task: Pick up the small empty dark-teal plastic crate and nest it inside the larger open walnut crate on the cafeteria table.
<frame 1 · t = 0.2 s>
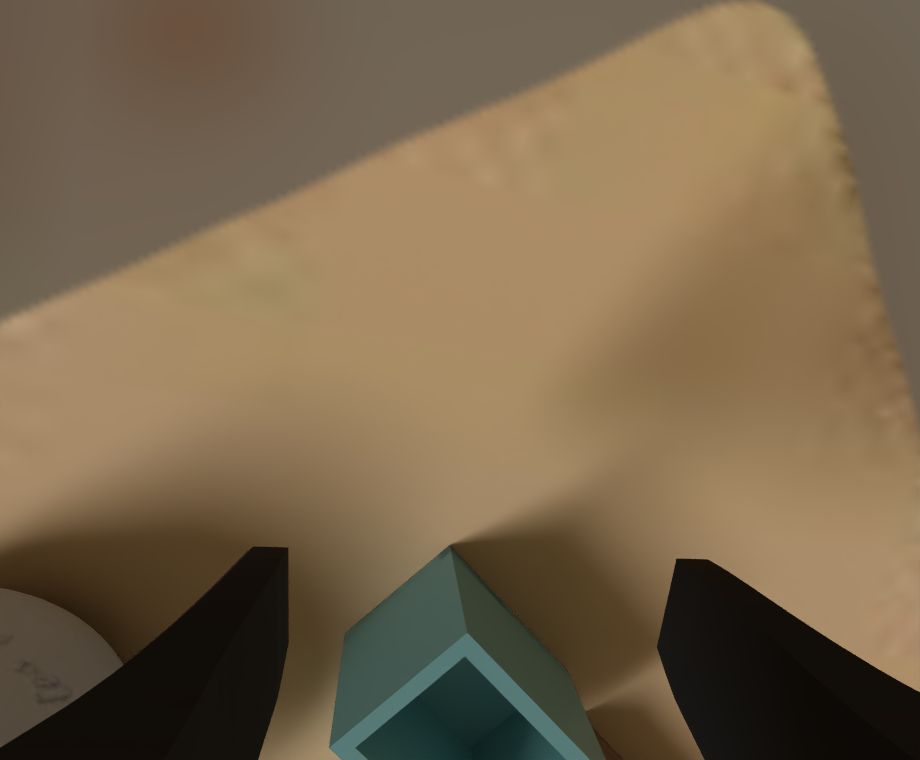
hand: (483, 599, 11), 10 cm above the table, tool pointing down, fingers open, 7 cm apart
teal crate: (459, 653, 23), on the table
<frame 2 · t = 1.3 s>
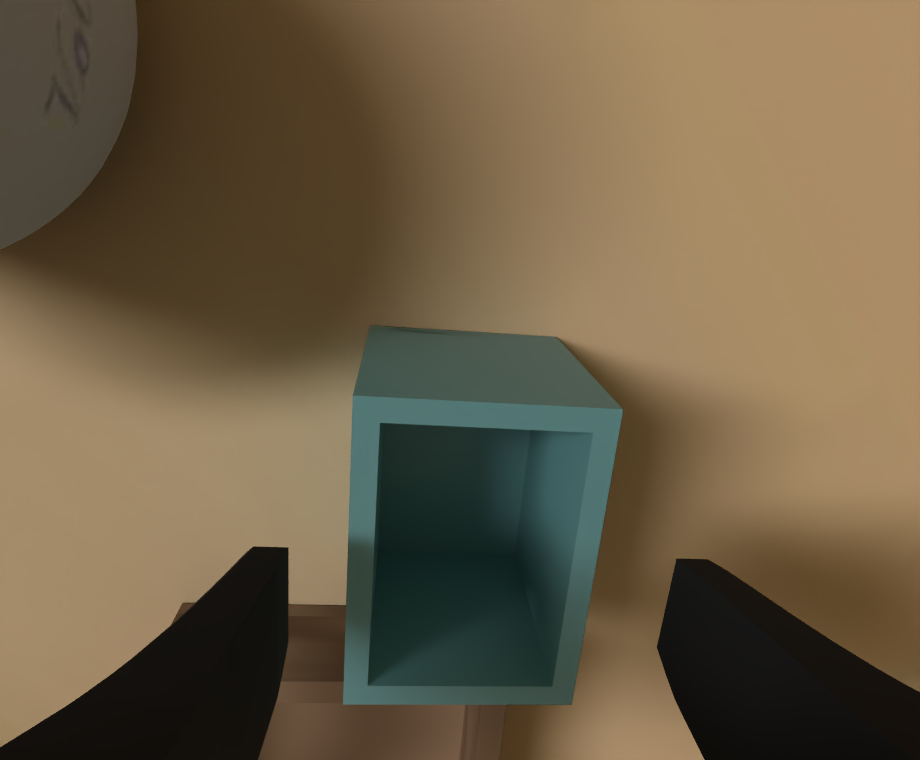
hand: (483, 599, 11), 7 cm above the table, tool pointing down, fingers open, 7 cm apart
walnut crate: (338, 749, 21), on the table
teal crate: (454, 451, 18), on the table
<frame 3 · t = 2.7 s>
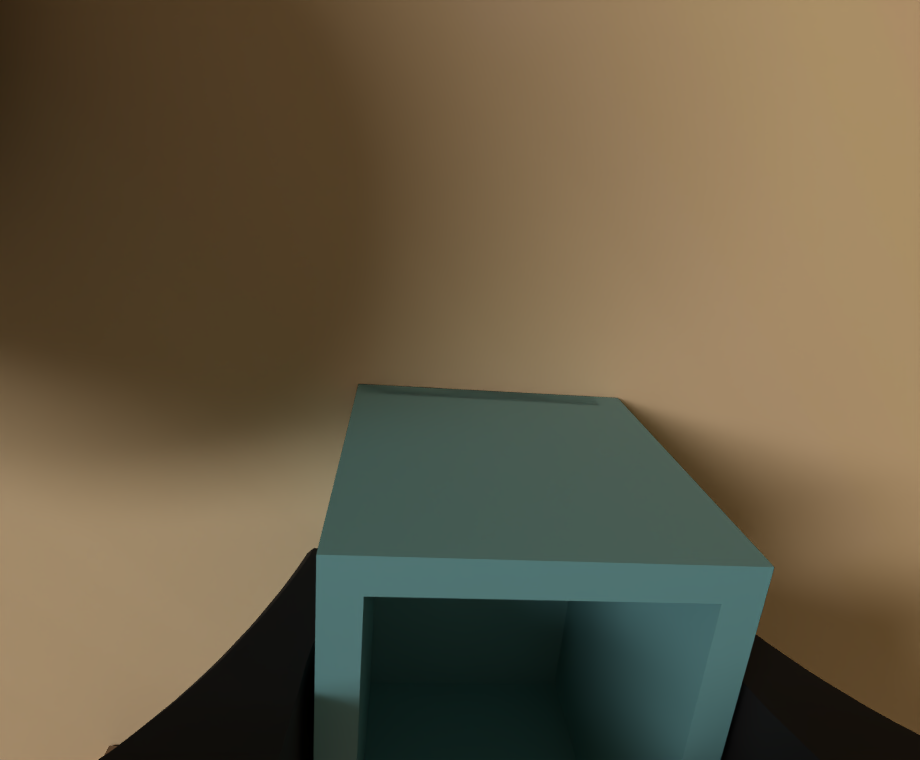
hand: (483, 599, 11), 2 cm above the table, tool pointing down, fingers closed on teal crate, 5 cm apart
teal crate: (474, 549, 13), on the table, touching gripper
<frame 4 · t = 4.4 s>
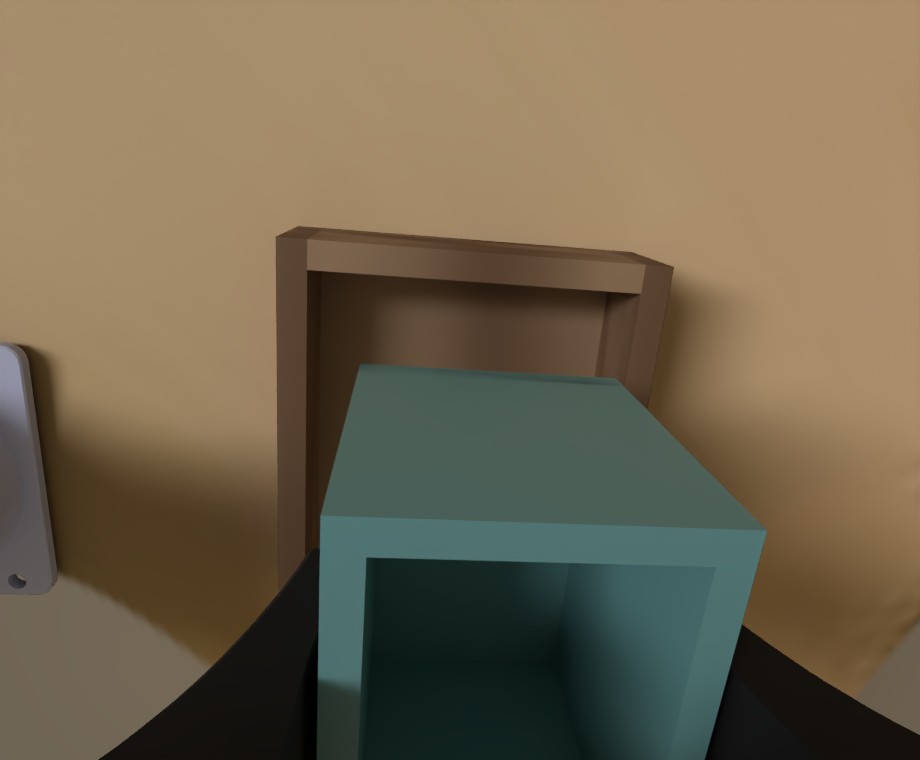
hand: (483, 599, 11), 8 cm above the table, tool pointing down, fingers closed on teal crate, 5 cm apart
walnut crate: (453, 427, 19), on the table
teal crate: (474, 528, 13), point 6 cm above the table, touching gripper
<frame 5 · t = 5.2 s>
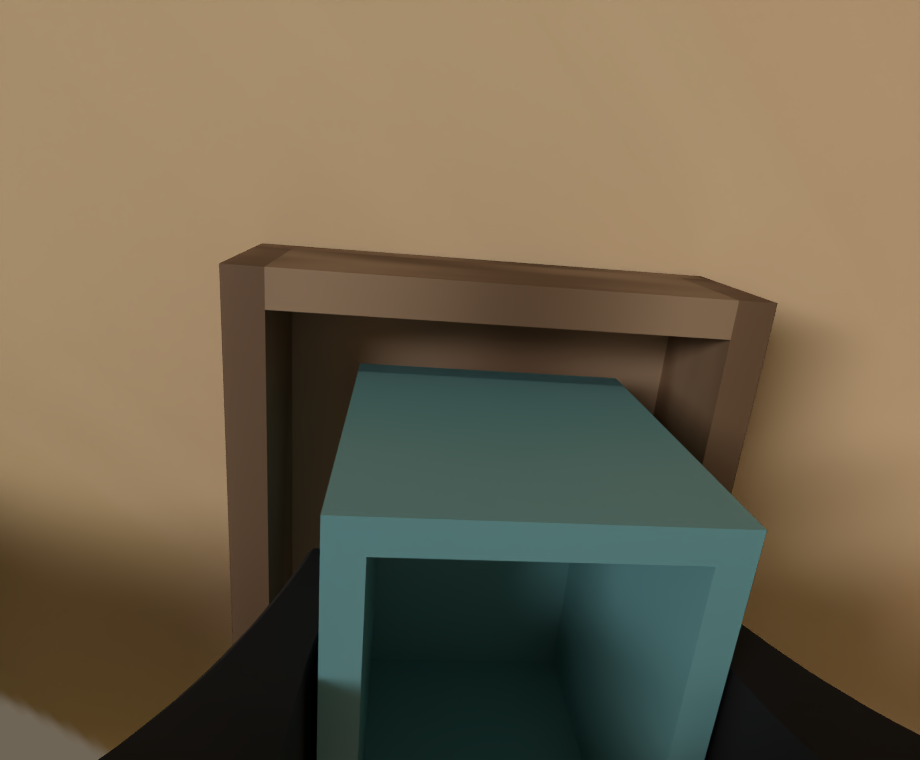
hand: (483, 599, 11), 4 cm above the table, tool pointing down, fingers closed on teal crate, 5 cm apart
walnut crate: (465, 499, 15), on the table
teal crate: (474, 528, 13), point 2 cm above the table, touching gripper
when the fingers open (4 cm above the table, at t = 6.0 s): teal crate drops 1 cm, resting on walnut crate.
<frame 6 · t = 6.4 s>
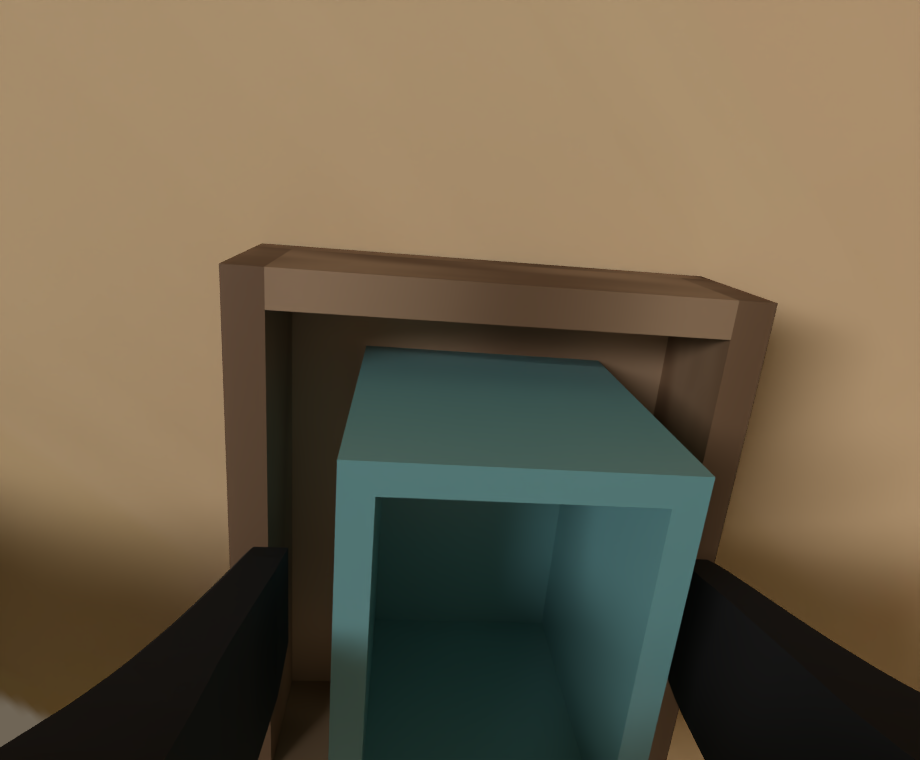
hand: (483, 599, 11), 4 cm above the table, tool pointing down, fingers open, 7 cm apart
walnut crate: (465, 499, 15), on the table
teal crate: (469, 498, 14), resting on walnut crate
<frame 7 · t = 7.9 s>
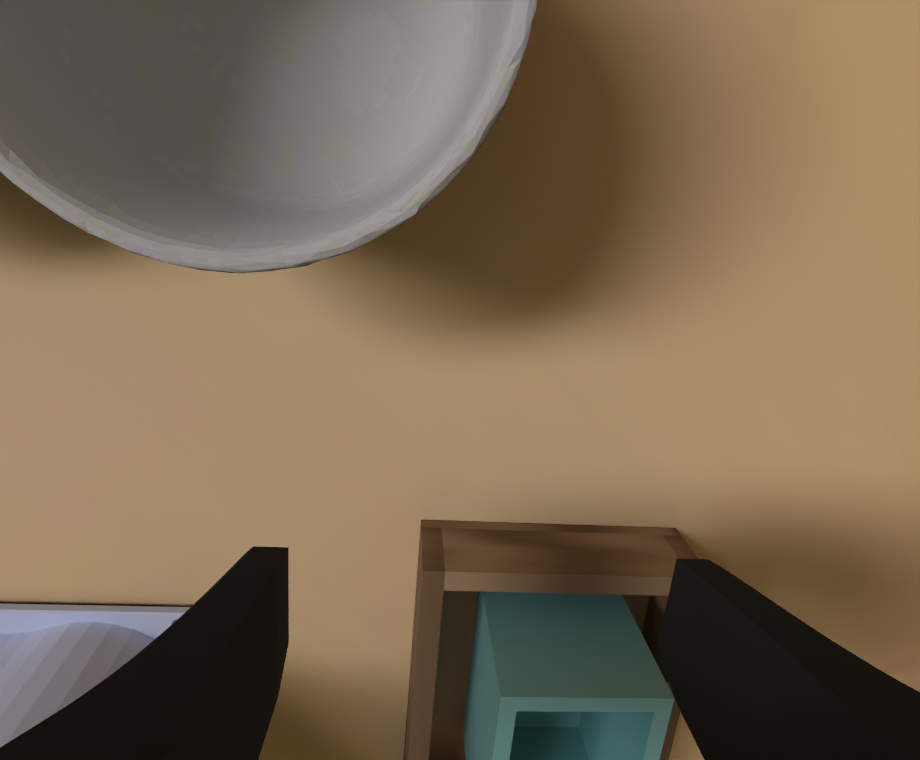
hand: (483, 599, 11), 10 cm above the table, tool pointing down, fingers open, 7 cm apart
walnut crate: (532, 652, 24), on the table
teal crate: (535, 655, 24), resting on walnut crate
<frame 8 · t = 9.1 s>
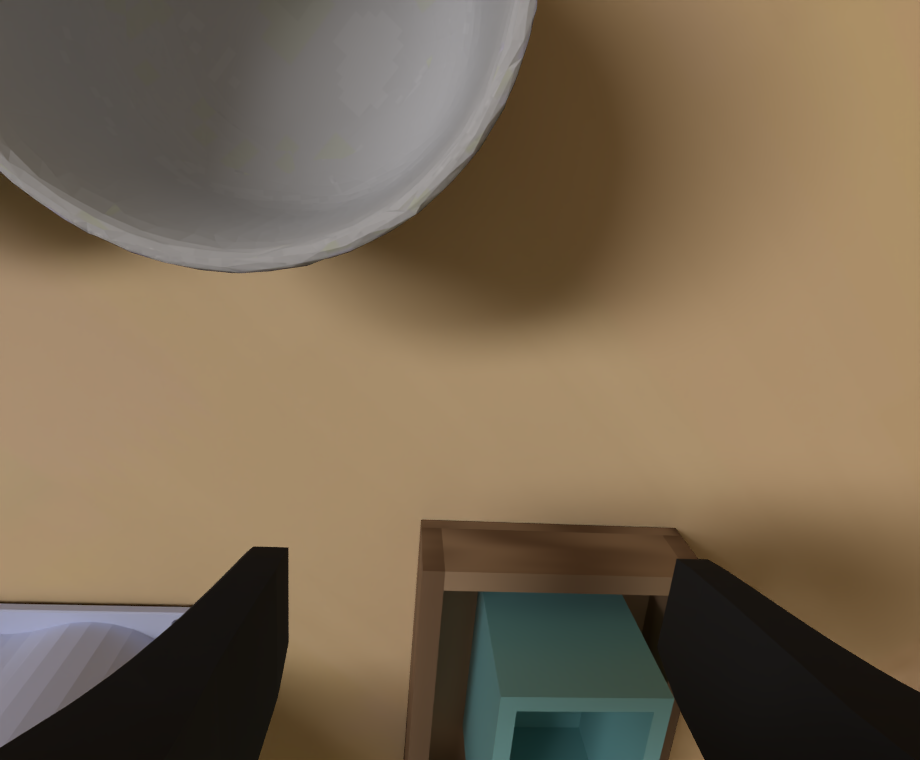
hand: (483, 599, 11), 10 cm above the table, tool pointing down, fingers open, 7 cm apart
walnut crate: (532, 652, 24), on the table
teal crate: (535, 655, 24), resting on walnut crate
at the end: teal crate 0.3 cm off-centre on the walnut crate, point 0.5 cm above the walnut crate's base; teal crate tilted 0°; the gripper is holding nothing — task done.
